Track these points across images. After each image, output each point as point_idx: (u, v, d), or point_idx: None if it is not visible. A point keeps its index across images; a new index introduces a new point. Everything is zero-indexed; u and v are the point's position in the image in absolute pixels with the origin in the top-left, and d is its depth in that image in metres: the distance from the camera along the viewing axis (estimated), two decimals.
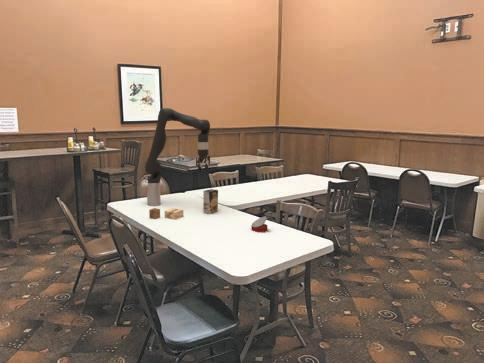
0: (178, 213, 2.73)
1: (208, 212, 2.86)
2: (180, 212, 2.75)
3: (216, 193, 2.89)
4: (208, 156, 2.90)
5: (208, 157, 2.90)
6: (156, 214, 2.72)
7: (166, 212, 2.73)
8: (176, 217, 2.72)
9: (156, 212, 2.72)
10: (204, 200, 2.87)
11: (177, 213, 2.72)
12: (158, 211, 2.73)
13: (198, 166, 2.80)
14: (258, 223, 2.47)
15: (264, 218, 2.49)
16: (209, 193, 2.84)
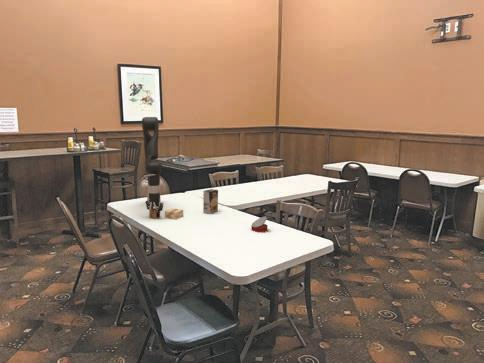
0: (178, 213, 2.74)
1: (208, 212, 2.86)
2: (180, 212, 2.75)
3: (216, 193, 2.89)
4: (148, 200, 2.76)
5: None
6: (156, 214, 2.72)
7: (166, 212, 2.73)
8: (177, 217, 2.72)
9: (156, 212, 2.72)
10: (204, 200, 2.87)
11: (177, 213, 2.72)
12: None
13: None
14: (258, 223, 2.47)
15: (264, 218, 2.49)
16: (209, 193, 2.84)
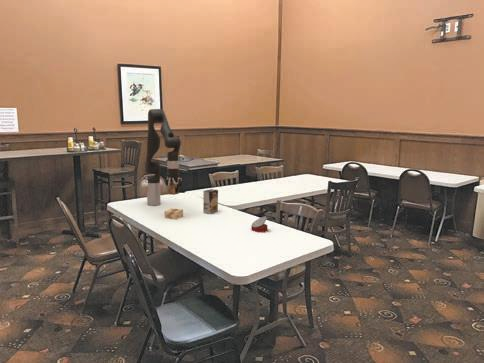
0: (179, 213, 2.74)
1: (208, 212, 2.86)
2: (180, 212, 2.76)
3: (216, 193, 2.89)
4: (166, 176, 2.75)
5: None
6: None
7: (166, 212, 2.73)
8: (177, 217, 2.72)
9: None
10: (204, 200, 2.87)
11: (177, 213, 2.72)
12: None
13: (179, 186, 2.71)
14: (258, 223, 2.47)
15: (264, 218, 2.49)
16: (209, 193, 2.84)
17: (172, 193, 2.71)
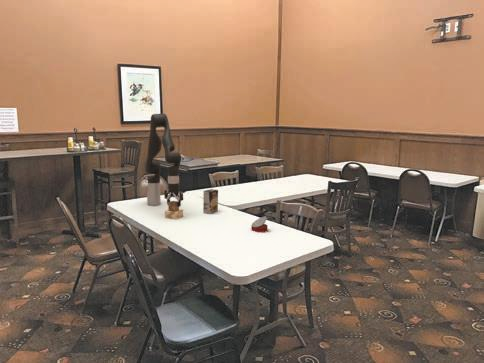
0: (179, 213, 2.74)
1: (208, 212, 2.86)
2: (180, 212, 2.76)
3: (216, 193, 2.89)
4: (167, 190, 2.77)
5: None
6: (175, 206, 2.73)
7: (167, 212, 2.73)
8: (177, 217, 2.72)
9: (175, 204, 2.73)
10: (204, 200, 2.87)
11: (178, 213, 2.72)
12: None
13: (181, 200, 2.72)
14: (258, 223, 2.47)
15: (264, 218, 2.49)
16: (209, 193, 2.84)
17: (172, 210, 2.73)
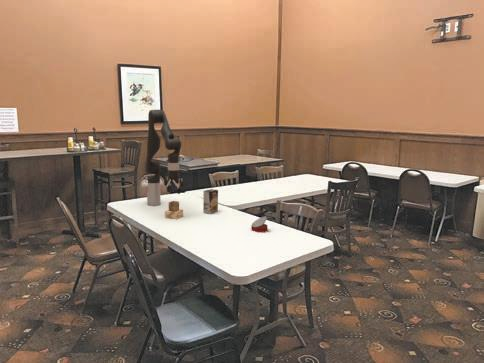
0: (179, 213, 2.74)
1: (208, 212, 2.86)
2: (180, 212, 2.76)
3: (216, 193, 2.89)
4: (167, 177, 2.75)
5: None
6: (175, 207, 2.73)
7: (167, 212, 2.73)
8: (178, 217, 2.72)
9: (175, 205, 2.73)
10: (204, 200, 2.87)
11: (178, 213, 2.72)
12: (177, 204, 2.75)
13: (181, 187, 2.70)
14: (258, 223, 2.47)
15: (264, 218, 2.49)
16: (209, 193, 2.84)
17: (172, 210, 2.73)
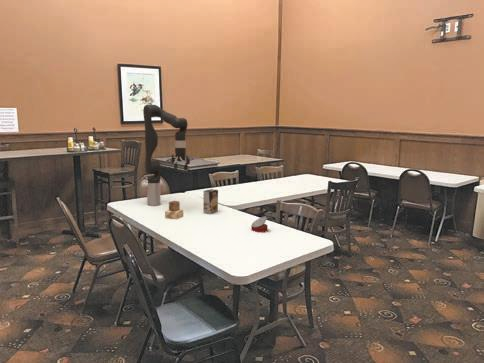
0: (179, 213, 2.74)
1: (208, 212, 2.86)
2: (180, 212, 2.76)
3: (216, 193, 2.89)
4: (174, 154, 2.90)
5: None
6: (175, 206, 2.73)
7: (167, 212, 2.73)
8: (177, 217, 2.72)
9: (175, 204, 2.73)
10: (204, 200, 2.87)
11: (178, 212, 2.72)
12: (177, 204, 2.75)
13: None
14: (258, 223, 2.47)
15: (264, 218, 2.49)
16: (209, 193, 2.84)
17: (173, 210, 2.73)
